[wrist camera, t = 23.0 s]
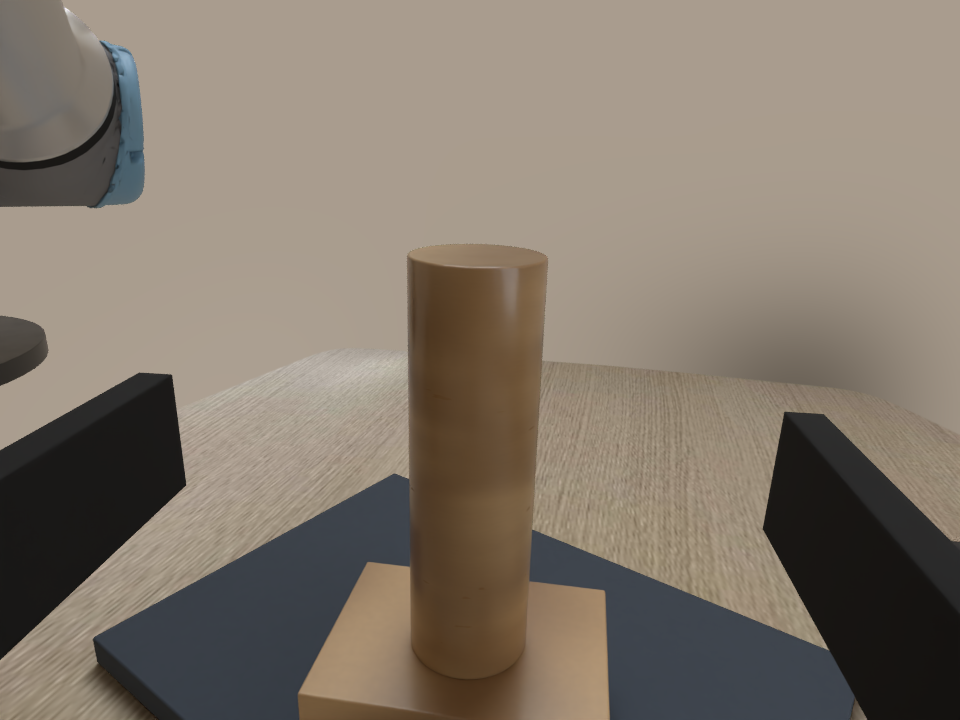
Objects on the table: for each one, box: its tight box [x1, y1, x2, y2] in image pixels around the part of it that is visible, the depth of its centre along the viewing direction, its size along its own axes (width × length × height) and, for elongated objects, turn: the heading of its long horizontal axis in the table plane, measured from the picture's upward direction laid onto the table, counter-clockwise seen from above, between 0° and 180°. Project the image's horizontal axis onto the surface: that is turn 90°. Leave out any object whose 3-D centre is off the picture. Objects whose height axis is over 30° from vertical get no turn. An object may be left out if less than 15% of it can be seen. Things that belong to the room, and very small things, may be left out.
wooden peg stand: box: [298, 244, 610, 720], centre depth 16 cm, size 7×5×13 cm
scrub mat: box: [93, 474, 855, 720], centre depth 21 cm, size 20×14×1 cm
